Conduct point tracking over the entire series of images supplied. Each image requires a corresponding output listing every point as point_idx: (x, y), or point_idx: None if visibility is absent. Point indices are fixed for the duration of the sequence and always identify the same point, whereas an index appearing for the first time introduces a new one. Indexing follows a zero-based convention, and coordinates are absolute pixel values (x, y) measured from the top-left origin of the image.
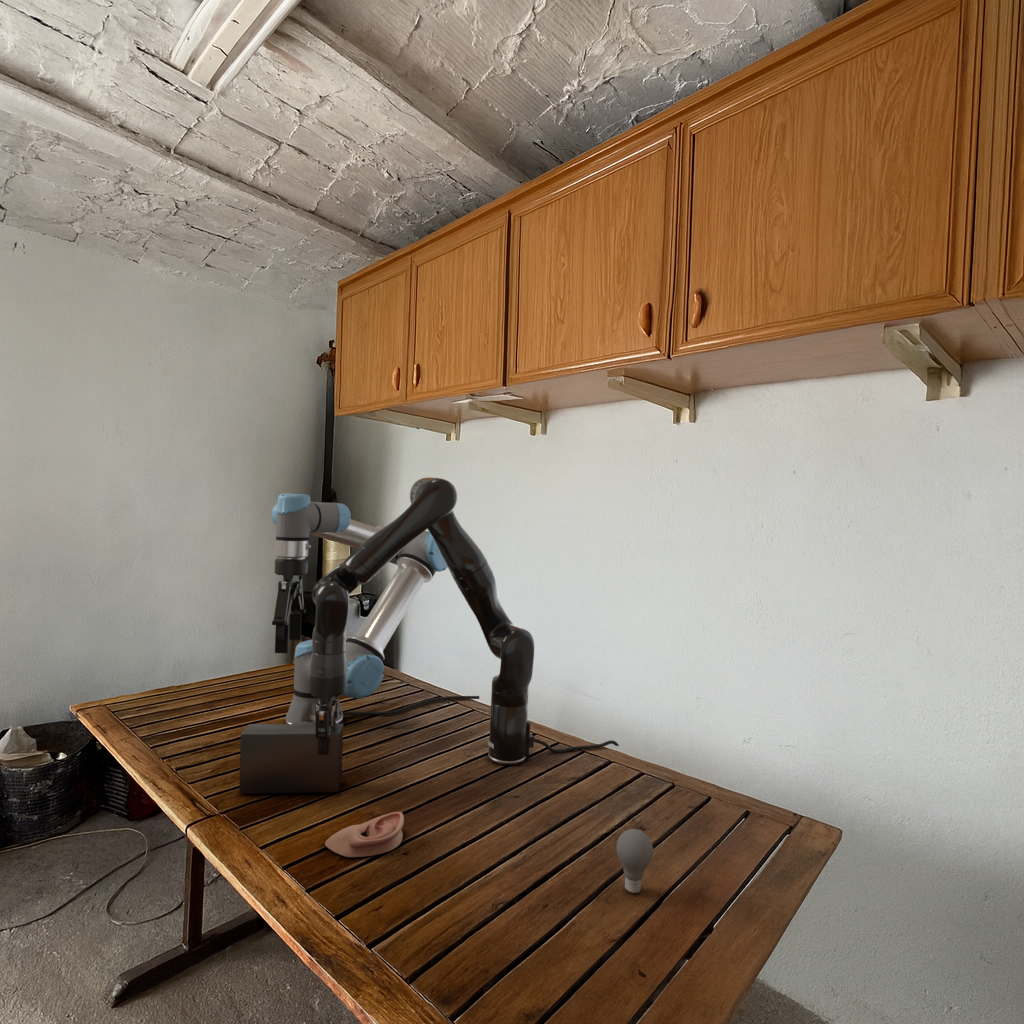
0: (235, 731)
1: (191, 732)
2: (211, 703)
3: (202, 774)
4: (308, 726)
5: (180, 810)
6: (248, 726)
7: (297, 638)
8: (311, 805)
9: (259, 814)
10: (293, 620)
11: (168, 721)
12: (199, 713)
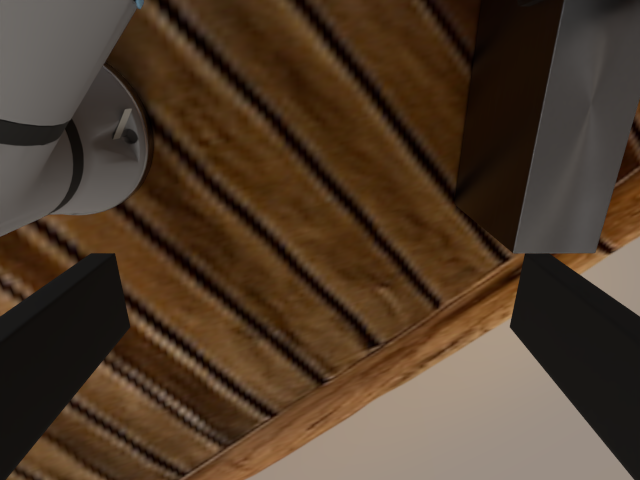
0: (171, 305)
1: (189, 381)
2: None
3: (400, 297)
4: (582, 51)
5: None
6: (533, 249)
7: (114, 277)
8: None
9: None
10: (16, 422)
11: (137, 435)
12: (78, 402)
